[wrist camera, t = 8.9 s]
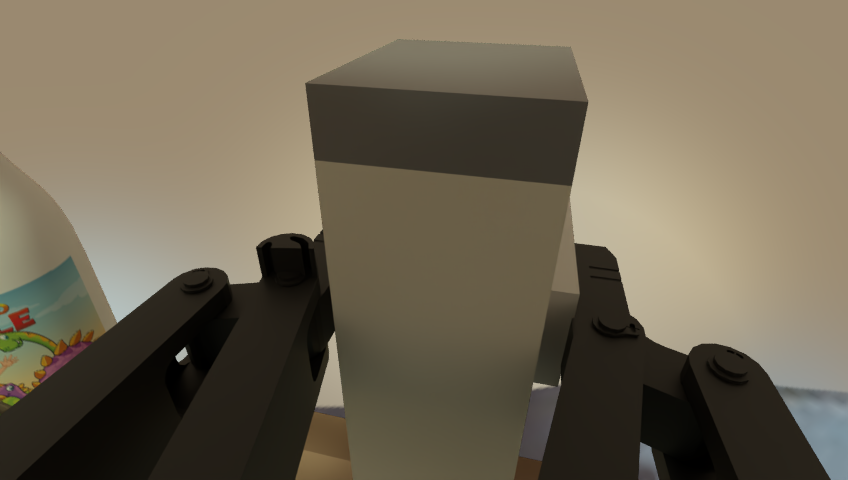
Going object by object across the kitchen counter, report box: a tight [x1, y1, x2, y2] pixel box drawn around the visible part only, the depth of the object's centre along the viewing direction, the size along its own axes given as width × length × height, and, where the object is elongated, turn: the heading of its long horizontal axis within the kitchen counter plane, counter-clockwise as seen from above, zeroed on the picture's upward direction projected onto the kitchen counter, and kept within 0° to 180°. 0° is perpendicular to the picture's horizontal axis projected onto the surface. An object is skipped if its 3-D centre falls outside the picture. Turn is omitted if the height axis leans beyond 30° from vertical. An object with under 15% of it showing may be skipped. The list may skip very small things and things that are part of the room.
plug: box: [305, 39, 588, 480], centre depth 12 cm, size 5×4×15 cm
